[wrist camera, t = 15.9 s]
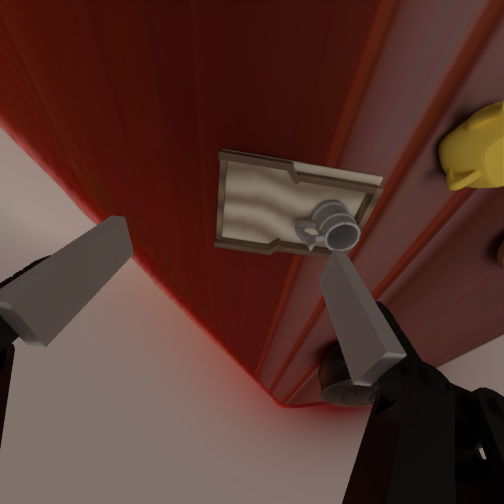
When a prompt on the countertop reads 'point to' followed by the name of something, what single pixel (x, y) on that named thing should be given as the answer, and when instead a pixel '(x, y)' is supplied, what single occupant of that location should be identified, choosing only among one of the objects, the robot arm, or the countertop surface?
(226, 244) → the rimmed tray
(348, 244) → the mug
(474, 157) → the teapot
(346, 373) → the bowl
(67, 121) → the countertop surface
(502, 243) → the vase
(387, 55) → the countertop surface
